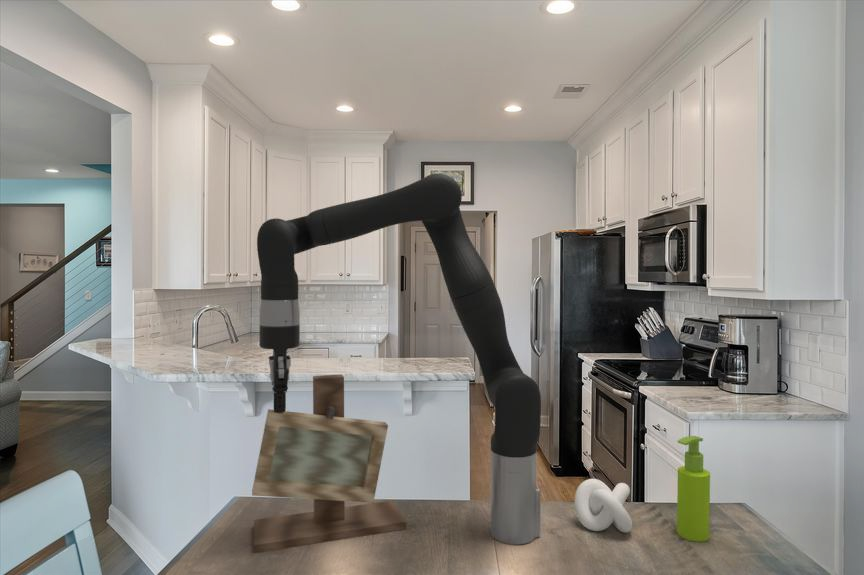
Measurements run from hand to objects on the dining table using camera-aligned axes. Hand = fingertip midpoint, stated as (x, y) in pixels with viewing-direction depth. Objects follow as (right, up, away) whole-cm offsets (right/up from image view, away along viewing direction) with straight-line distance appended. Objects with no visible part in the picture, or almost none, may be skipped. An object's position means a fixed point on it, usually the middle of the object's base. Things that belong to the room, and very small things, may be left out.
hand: (279, 411), depth 105 cm
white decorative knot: (+67, -26, +7) cm, 72 cm away
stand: (+8, -26, +7) cm, 28 cm away
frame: (+6, -18, +3) cm, 19 cm away
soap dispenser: (+82, -26, +4) cm, 86 cm away
